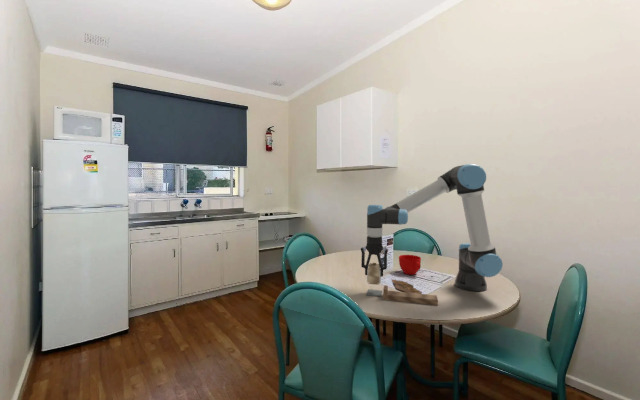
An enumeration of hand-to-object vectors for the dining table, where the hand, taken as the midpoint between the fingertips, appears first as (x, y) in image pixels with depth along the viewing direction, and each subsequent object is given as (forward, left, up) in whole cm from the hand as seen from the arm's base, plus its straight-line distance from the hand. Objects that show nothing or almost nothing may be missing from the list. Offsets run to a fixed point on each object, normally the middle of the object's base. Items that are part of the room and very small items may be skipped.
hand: (373, 282), depth 144 cm
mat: (0, 0, -6) cm, 6 cm away
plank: (-17, +3, -6) cm, 18 cm away
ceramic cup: (-18, -39, -6) cm, 44 cm away
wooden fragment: (-14, -14, -6) cm, 21 cm away
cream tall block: (0, 0, 0) cm, 0 cm away
